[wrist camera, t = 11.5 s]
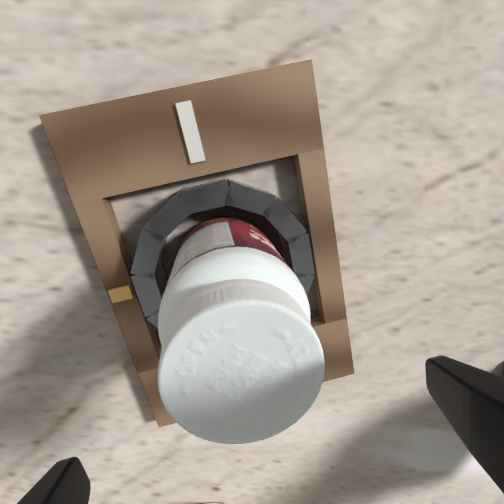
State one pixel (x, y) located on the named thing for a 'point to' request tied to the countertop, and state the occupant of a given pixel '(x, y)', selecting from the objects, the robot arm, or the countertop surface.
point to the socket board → (202, 191)
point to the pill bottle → (236, 337)
